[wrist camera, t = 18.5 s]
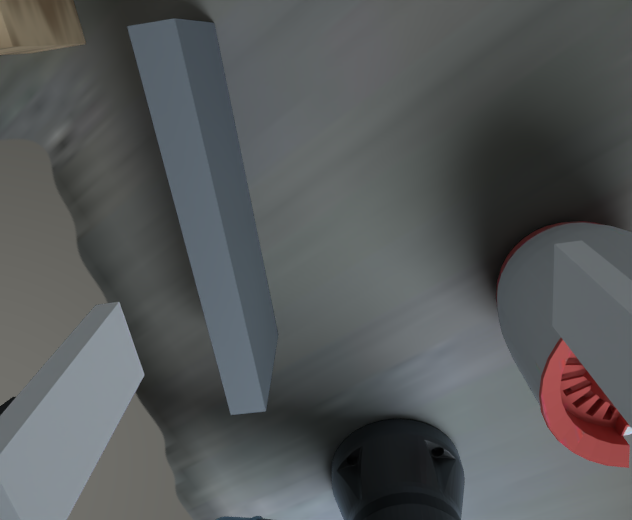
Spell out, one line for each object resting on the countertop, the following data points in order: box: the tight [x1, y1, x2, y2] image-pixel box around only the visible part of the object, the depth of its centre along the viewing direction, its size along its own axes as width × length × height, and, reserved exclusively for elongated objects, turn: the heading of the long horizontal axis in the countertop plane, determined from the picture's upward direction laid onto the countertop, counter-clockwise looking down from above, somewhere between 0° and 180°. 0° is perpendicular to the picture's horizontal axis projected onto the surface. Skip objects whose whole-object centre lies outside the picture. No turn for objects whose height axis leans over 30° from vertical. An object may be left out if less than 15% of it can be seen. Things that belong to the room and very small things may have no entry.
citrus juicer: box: [496, 221, 632, 468], centre depth 42 cm, size 16×17×20 cm
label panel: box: [127, 18, 278, 415], centre depth 43 cm, size 30×4×12 cm, turn 8°
